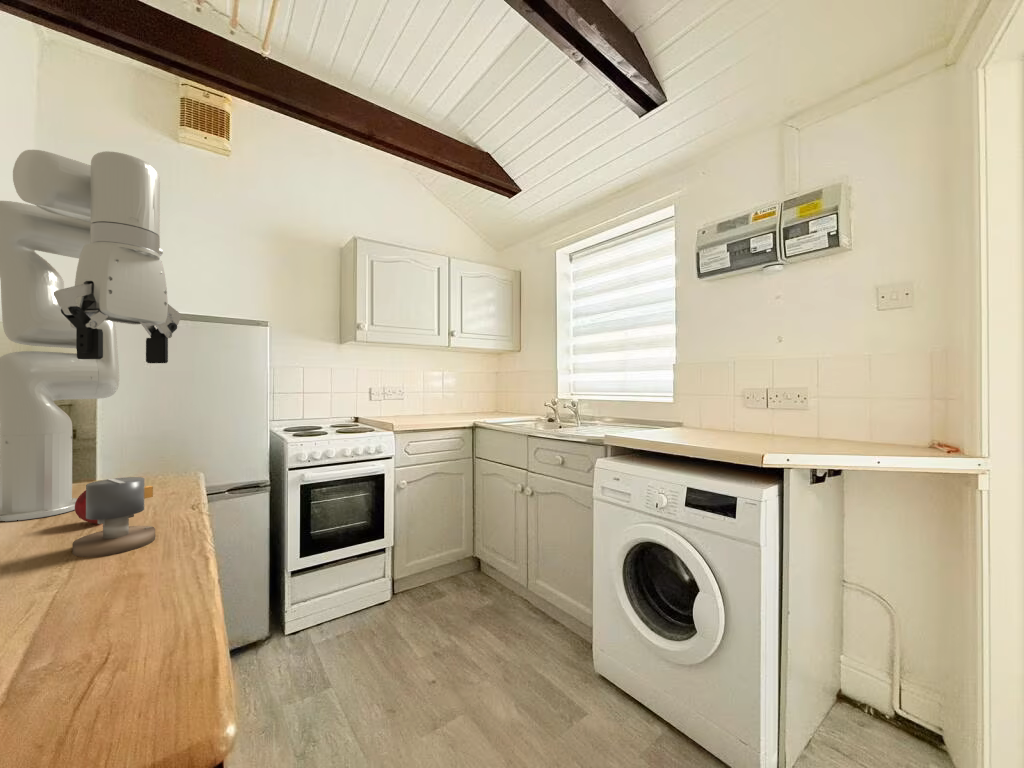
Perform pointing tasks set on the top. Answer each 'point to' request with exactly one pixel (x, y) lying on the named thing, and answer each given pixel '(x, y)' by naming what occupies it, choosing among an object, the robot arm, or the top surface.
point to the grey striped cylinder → (116, 497)
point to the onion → (82, 508)
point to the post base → (114, 538)
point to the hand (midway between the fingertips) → (126, 361)
